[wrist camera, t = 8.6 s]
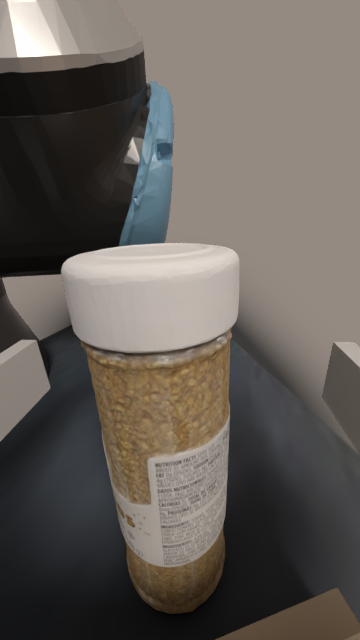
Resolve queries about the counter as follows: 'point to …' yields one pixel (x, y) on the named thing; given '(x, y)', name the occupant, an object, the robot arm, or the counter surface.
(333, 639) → the slotted wooden board
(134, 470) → the sprinkles bottle
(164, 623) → the counter surface
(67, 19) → the robot arm
